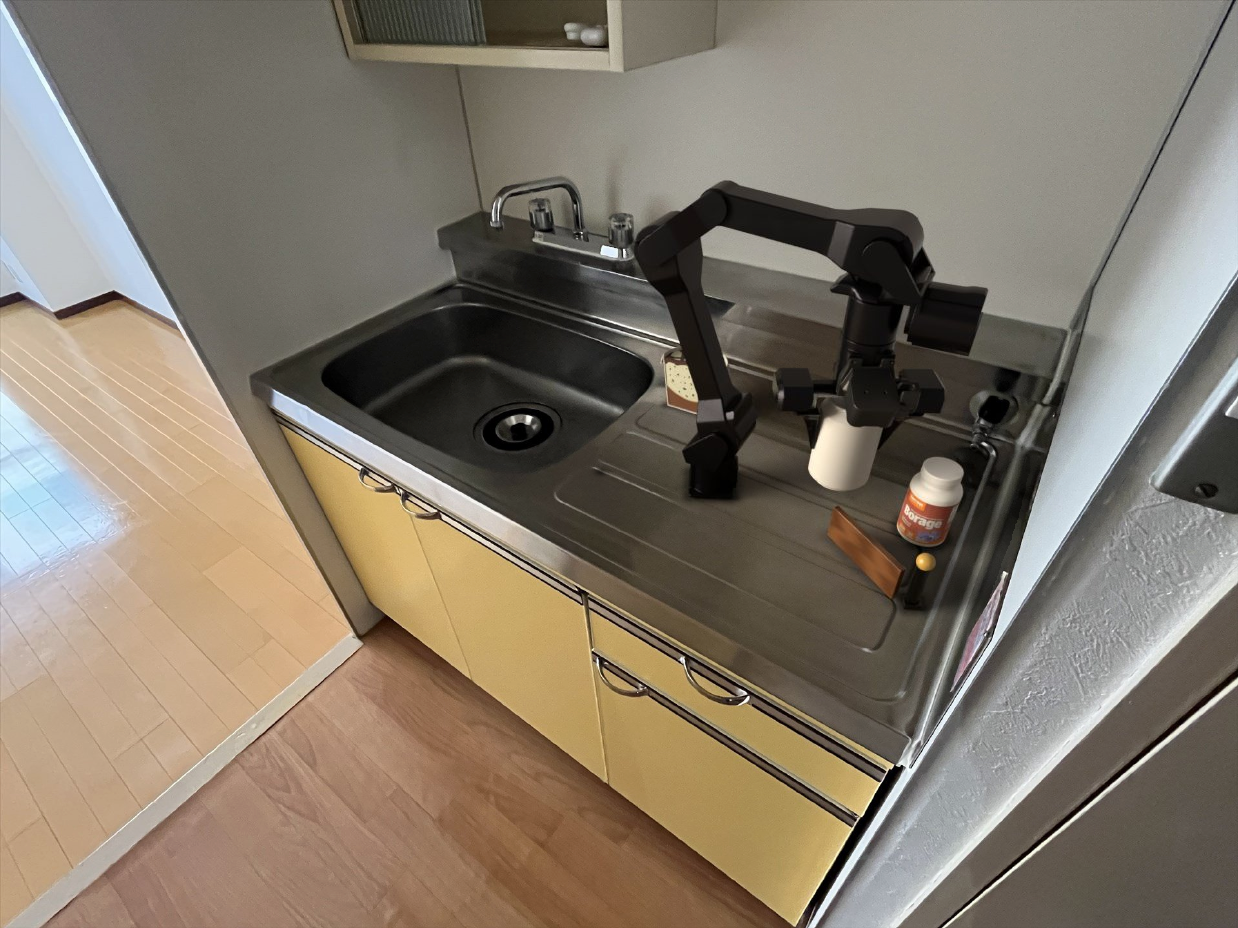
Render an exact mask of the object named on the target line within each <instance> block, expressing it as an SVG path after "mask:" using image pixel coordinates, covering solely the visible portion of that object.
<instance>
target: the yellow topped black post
mask: <svg viewBox="0 0 1238 928" xmlns="http://www.w3.org/2000/svg"><path fill="white" fill-rule="evenodd" d="M915 563H916V565H915V568H914V570H913V573H912V576H911V579H910V581H909V583H908V584H909V585H908V587H907V590H906V592H903V591H902V592H901V593H900V596H899V597H900V601H901V605H902V608H903V610H907V611H908V610H910V611H922V609H923V602H922V600H921V598H922V596H923V593H924V590H925V588H926V586H927V582H928V579H929V578H930V575H931V572H932V570H933V569H934V568H935V567H936V564H937V561H936V558H935V557H934V556H933V555H932V554H930V553H928V552H922V553H920V554H918V555H917V557H916V560H915Z"/></svg>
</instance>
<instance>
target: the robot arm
mask: <svg viewBox="0 0 1238 928" xmlns="http://www.w3.org/2000/svg"><path fill="white" fill-rule="evenodd" d="M716 227H723V228H727V229H730V230H734V231H738V232H741V233H745V234H749V235H752V236H756V237H759V238H763V239H767V240H771V241H773V242H776V243H777V242H778V243H782V244H785V245H788V246H793V247H795V248H800V249H802V250H803V249H804V250H807V251H810V252H815V253H817V254H819V255H822V256H823V257H826V258H827V259H829V260H830V261H831V262H832V263H833V264H834V265H836V266H837V267H838V268H839V269H841V270H842V271H844V272H845V273H844V274H841V275H839V276H838V277H837V279H836V280H835V281H834V282H833V283H832V285H830V287H829V291H830V293H832V294H837V295H843V296H847V298H848V299H847V302H846V307H845V314H844V318H843V323H842V329H841V330H840V331H839V334H838V341H839V344H838V349H837V355H836V361H835V362H833V366H832V372H833V375H832V379H813V378H812V376H811V372H810V369H809V367H779V368H778V369H776V371H774V373H773V377H772V383H771V388H772V393H773V397H774V403H775V408H776V409H777V410H778V411H781V412H792V413H793V415H795V416H797V417H802V418H803V421H804V423H805V429H806V433H807V439H808V442H809V448H810V450H812V449H814V447H815V444H816V435H817V424H818V419H819V415H820V410H819V407H818V403H817V402H818V399H819V398H827V397H844V402H845V408H846V419H847V422H848V424H849V425H851V426H853V427H864V426H865V427H880V428H883V430H882V433H881V437H880V440H879V444H878V447H877V451H880V450H881V448H882V447H883V446H884V444H885V443H886V442H887V441H888V440H889V439H890V437H891V436H892V435H893V434H894V432H895V431H896V430H897V429H898V428H899V427H900V426H901V425H902V424H903V423H904V422H905V421H908V420H911V419H912V420H913V419H917V418H918V419H920V418H923V417H924V415H925V414H935V415H936V414H937V415H938V414H942V413H943V412H944V411H945V409H946V405H947V402H948V398H949V397H948V390H947V389H946V387H945V386H944V384H943V382H942V381H941V379H940V376H939V375H938V373H937V372H936V371H935V370H934V369H933V368H902V369H900V370H899V371H898V375H897V377H896V373H895V364H896V357H897V355H896V352H895V350H894V349H895V345H896V342H897V337H898V333H899V329H900V325H901V322H902V318H903V313H904V309H905V306H906V307H909V308H908V313H907V315H906V319H905V323H904V327H903V335H907V337H906V342H907V343H910V344H911V345H910V346H915V347H919V348H924V349H927V350H934V351H938V352H944V353H948V354H953V355H959V356H963V357H968V358H969V357H970V354H971V351H972V348H973V345H974V342H975V339H976V336H977V333H978V331H979V328H980V325H981V322H982V318H983V316H984V311H983V309H984V306H985V302H986V299H987V296H988V293H989V291H990V290H989V289H988V287H983V286H978V285H968V286H966V285H958V284H952V283H946V282H940V281H934V278H935V276H936V273H937V272H936V270H935V268H934V266H933V264H932V262H931V260H930V258H929V255H928V254H927V252H926V250H925V248H924V240H925V233H924V232H925V231H924V227H923V226H922V224H921V222H920V220H919V217H918V216H917V215H915V214H914V213H912V212H910V211H908V210H906V209H899V208H883V207H882V208H881V207H863V208H852V209H844V208H843V209H841V208H834V207H830V206H825V205H821V204H818V203H813V202H809V201H805V200H801V199H798V198H797V199H796V198H794V197H790V196H784V195H781V194H777V193H773V192H768V191H765V190H761V189H757V188H753V187H749V186H746V185H745V186H744V185H740V184H739V183H738V182H735V181H733V180H728V179H724V180H722V181H719V182H717V183H715V184H714V185H712V186H710V187H709V188H707V189H706V190H704V192H702V193H701V194H700V197H699V198H696V200H695V201H693V202H692V203H690V205H687V206H686V207H685V208H683V209H682V210H681V211H680V210H671V211H668V212H667V213H665V214H663V215H662V216H660V217H658V218H657V219H655V220H654V221H652V222H650V223H649V224H646V225H645V226H644V227H642V228H641V229H640V230H639V231H638V233H637V234H636V237H635V239H634V241H633V243H632V249H633V250H632V251H633V255H634V258H635V260H636V262H637V264H638V266H639V268H640V271H641V272H642V273H643V276H644V278H645V280H646V281H647V283H649V285H651V287H652V288H653V289H655V290H656V291H657V292H658V293H659V295H661V296H662V298H663V299H664V302H665V303H666V307H667V310H668V314H669V316H670V319H671V322H672V325H673V328H674V330H675V333H676V336H677V337H676V338H677V339H678V342H679V347H680V346H681V349H682V352H683V355H684V358H685V361H686V364H687V366H688V369H689V372H690V375H691V378H692V381H693V384H694V387H695V390H696V393H697V396H698V407H697V414H696V417H695V419H696V420H695V424H696V430H697V432H696V433H695V435H694V436H693V437H692V438H691V439H690V440H689V441H688V442H687V444H686V445H685V446H684V447H683V448H682V450H681V454H682V457H683V459H684V462H685V463H686V464H688V465H689V469H688V489H687V490H688V491H687V495H688V497H689V498H693V499H694V498H695V499H714V500H715V499H717V500H733V499H734V489H737V487H738V478H739V477H738V475H739V456H738V455H737V454H738V453H739V451H740V450H741V449H742V447H743V446H744V444H745V443H746V442H747V440H748V439H749V437H751V435H752V433H753V432H754V431H755V429H756V427H757V419H758V418H759V417H760V414H759V412H758V411H757V409H756V406H755V405H754V398H753V394H752V392H751V391H746V392H741V391H740V390H739V389H737V387H735V386H734V384H733V382H732V379H731V375H730V376H729V373H728V370H727V366H726V363H725V360H724V357H723V354H724V353H723V351H722V347H721V343H720V340H719V338H718V334H717V331H716V327H715V324H714V321H713V317H712V315H711V311H710V307H709V304H708V302H707V298H706V296H705V292H704V287H703V285H702V275H703V264H704V263H703V262H704V251H703V245H702V244H703V243H702V237H703V236H704V235H706V234H708V233H709V232H710V231H712V230H713V229H715V228H716Z"/></svg>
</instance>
